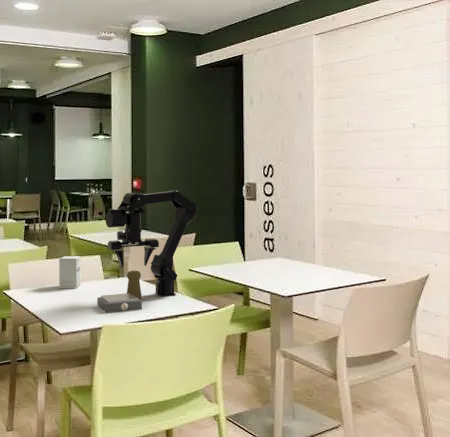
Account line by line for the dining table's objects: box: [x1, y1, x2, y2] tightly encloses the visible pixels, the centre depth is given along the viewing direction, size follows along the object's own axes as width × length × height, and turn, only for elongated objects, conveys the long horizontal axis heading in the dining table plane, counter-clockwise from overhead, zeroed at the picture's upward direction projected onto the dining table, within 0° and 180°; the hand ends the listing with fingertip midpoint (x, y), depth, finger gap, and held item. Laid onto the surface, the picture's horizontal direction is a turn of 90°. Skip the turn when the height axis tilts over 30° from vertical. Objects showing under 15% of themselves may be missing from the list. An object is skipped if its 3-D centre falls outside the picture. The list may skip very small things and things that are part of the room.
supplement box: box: [58, 255, 81, 289], centre depth 259 cm, size 7×7×13 cm
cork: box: [126, 270, 143, 301], centre depth 237 cm, size 6×6×11 cm
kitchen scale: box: [97, 292, 143, 313], centre depth 223 cm, size 13×12×4 cm
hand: (133, 266), depth 236 cm, fingers open, 9 cm apart
